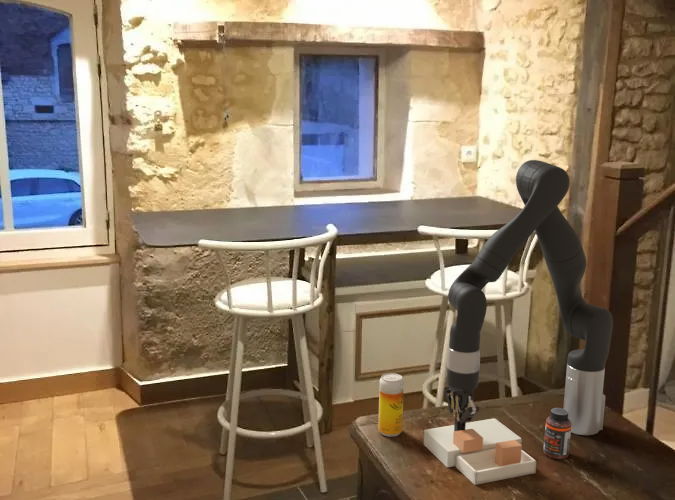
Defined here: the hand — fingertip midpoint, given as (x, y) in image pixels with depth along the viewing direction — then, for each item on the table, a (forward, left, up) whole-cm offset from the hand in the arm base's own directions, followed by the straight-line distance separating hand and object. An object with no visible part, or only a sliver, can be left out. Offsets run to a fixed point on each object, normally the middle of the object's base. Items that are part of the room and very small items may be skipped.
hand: (459, 434), depth 180 cm
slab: (-4, -1, -5) cm, 7 cm away
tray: (-4, +10, -5) cm, 12 cm away
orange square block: (0, +4, -1) cm, 4 cm away
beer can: (+11, -16, -5) cm, 20 cm away
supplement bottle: (-22, +8, -5) cm, 24 cm away
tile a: (-8, +8, -2) cm, 11 cm away
